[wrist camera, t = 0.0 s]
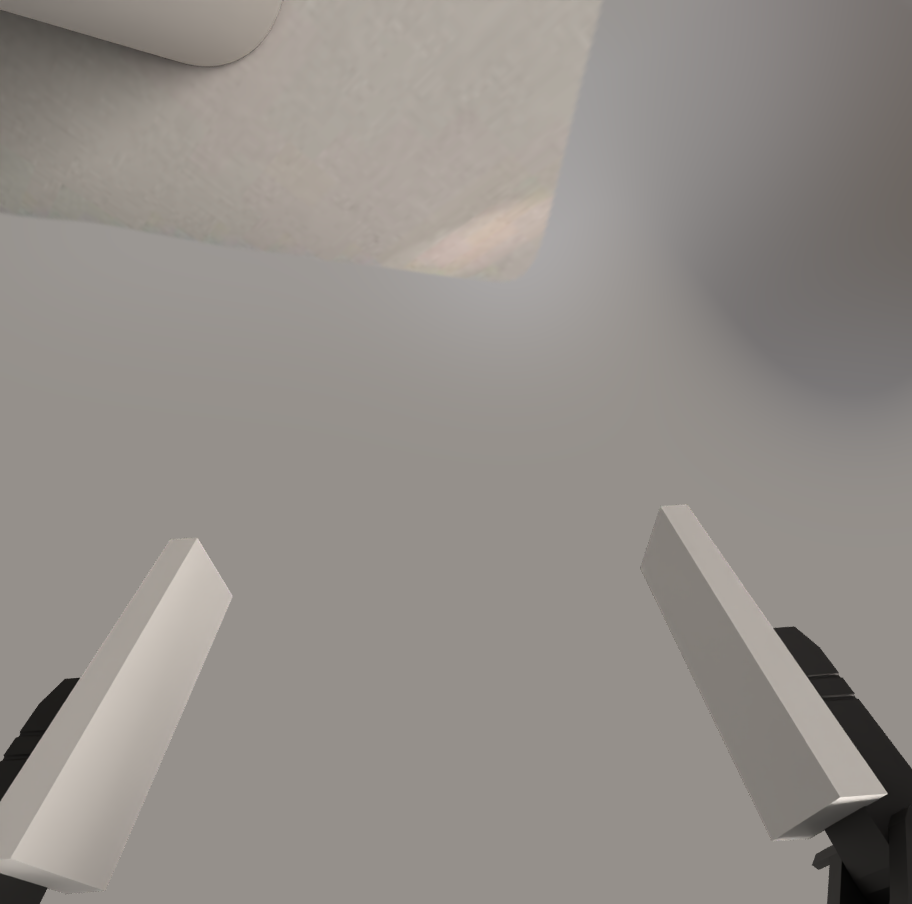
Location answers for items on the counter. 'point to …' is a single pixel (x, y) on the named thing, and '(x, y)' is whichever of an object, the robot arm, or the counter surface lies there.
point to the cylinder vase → (163, 24)
